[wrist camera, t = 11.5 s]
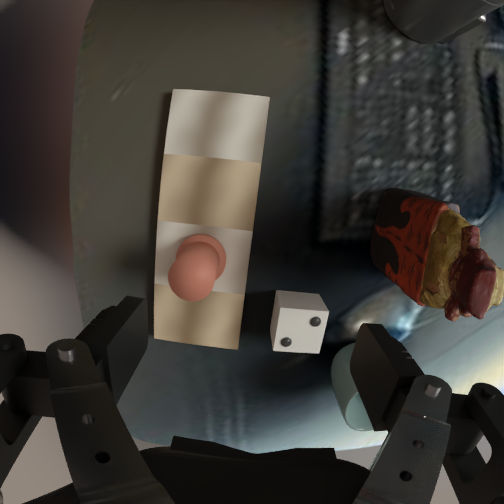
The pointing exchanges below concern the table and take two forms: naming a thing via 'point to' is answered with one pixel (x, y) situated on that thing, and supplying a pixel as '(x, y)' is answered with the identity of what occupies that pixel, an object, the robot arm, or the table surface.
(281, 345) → the die
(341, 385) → the cup
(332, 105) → the table surface
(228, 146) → the board
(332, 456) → the robot arm
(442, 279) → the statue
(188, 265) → the pawn
